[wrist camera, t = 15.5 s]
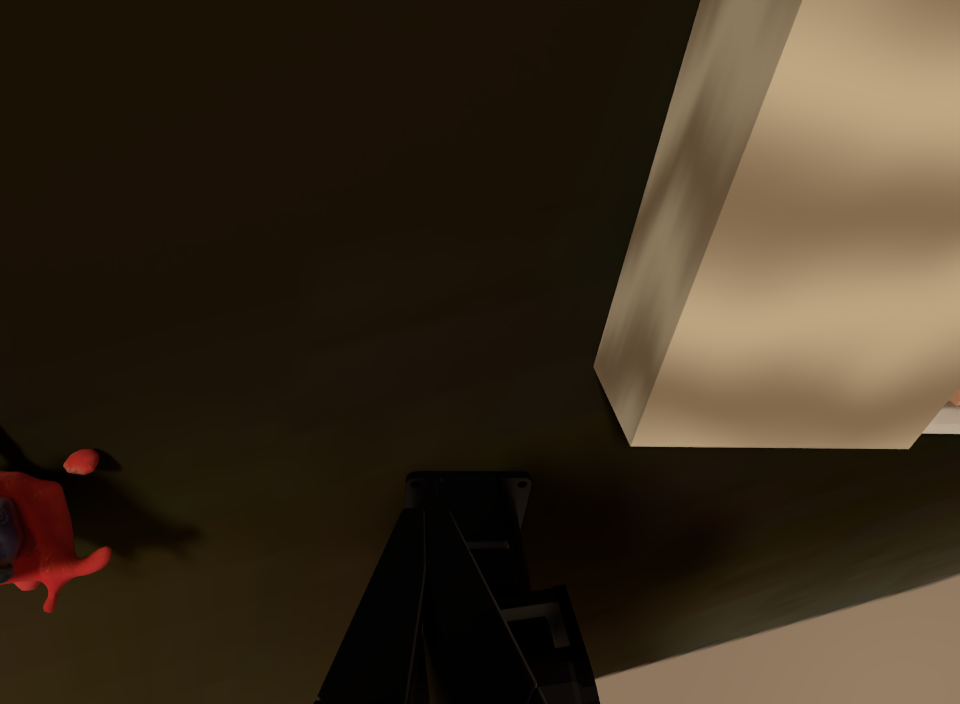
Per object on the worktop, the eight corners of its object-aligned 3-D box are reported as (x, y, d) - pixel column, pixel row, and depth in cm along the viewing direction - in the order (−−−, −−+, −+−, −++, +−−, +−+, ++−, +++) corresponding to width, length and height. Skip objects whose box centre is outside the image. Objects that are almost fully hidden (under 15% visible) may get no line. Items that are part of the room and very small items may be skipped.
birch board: (828, 374, 25) (908, 448, 21) (593, 366, 23) (630, 446, 19) (1136, -120, 15) (1410, -164, 11) (758, -198, 13) (913, -286, 9)
